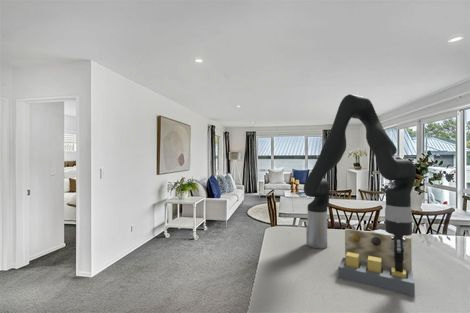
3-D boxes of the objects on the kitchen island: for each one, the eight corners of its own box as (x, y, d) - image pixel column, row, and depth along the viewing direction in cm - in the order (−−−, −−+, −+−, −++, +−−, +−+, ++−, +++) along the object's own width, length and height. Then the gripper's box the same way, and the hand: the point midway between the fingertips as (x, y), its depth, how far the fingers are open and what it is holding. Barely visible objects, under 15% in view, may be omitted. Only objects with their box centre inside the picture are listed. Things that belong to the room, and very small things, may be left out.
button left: (345, 269, 89) (345, 255, 89) (347, 265, 92) (347, 251, 92) (358, 271, 87) (357, 257, 87) (359, 267, 90) (359, 254, 90)
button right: (391, 286, 81) (391, 271, 81) (391, 281, 84) (391, 267, 85) (406, 290, 79) (406, 274, 79) (405, 284, 82) (405, 269, 82)
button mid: (367, 274, 85) (367, 259, 85) (368, 269, 88) (368, 255, 88) (381, 277, 83) (380, 262, 83) (381, 272, 86) (381, 258, 86)
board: (338, 278, 87) (338, 266, 87) (343, 267, 96) (343, 257, 96) (414, 296, 75) (414, 283, 75) (412, 282, 84) (412, 271, 84)
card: (345, 263, 99) (344, 229, 100) (346, 260, 103) (346, 226, 103) (411, 277, 87) (411, 238, 88) (411, 273, 91) (410, 235, 91)
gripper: (385, 213, 90) (386, 261, 89) (384, 221, 79) (385, 275, 78) (410, 216, 86) (411, 266, 85) (413, 224, 75) (414, 282, 74)
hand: (398, 270), depth 82 cm, fingers closed
